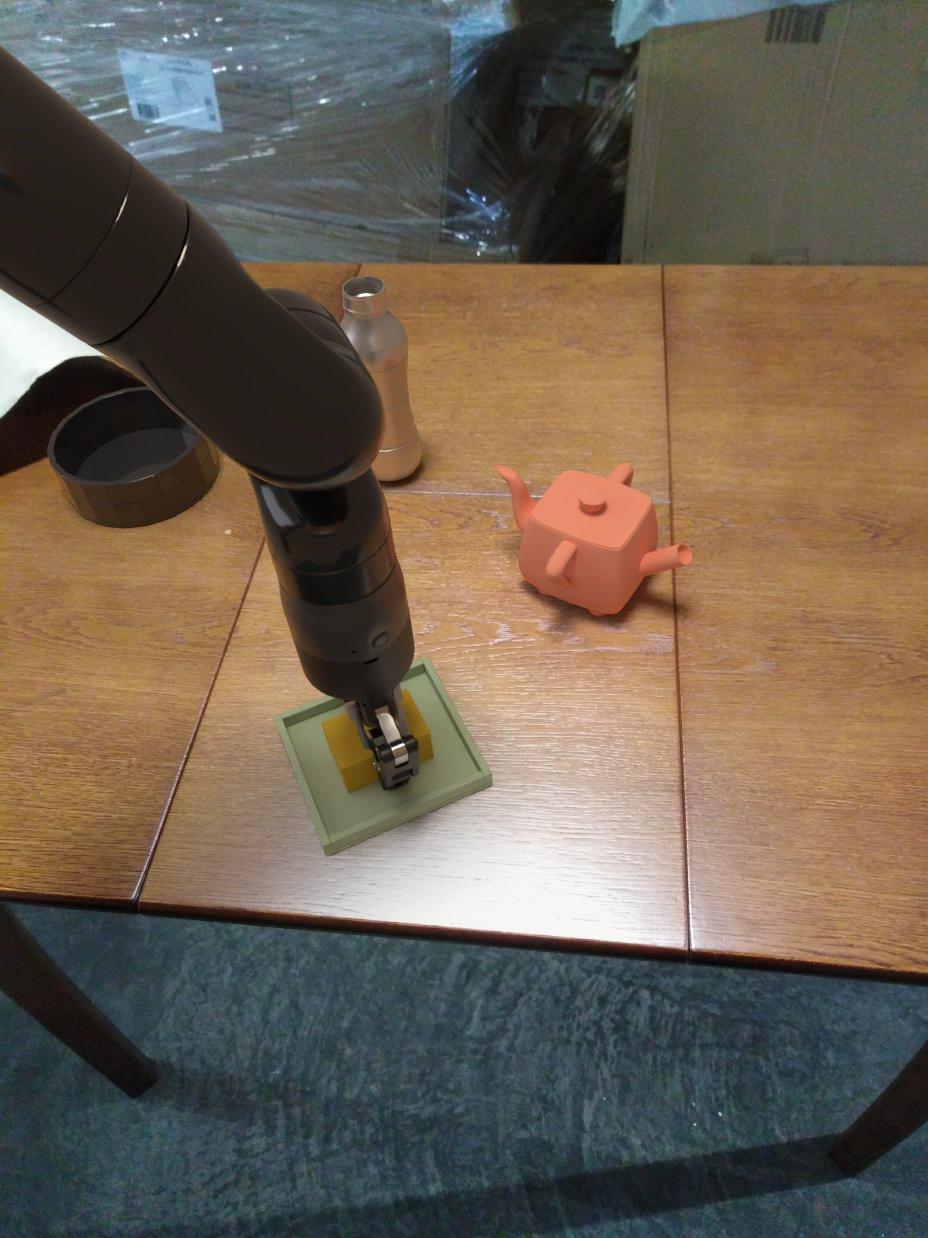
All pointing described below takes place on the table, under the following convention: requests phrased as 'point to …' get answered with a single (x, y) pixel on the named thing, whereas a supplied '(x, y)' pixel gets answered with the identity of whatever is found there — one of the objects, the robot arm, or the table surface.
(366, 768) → the sponge
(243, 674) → the table surface
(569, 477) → the teapot
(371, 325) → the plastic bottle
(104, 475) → the bowl
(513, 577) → the table surface
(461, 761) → the tray
